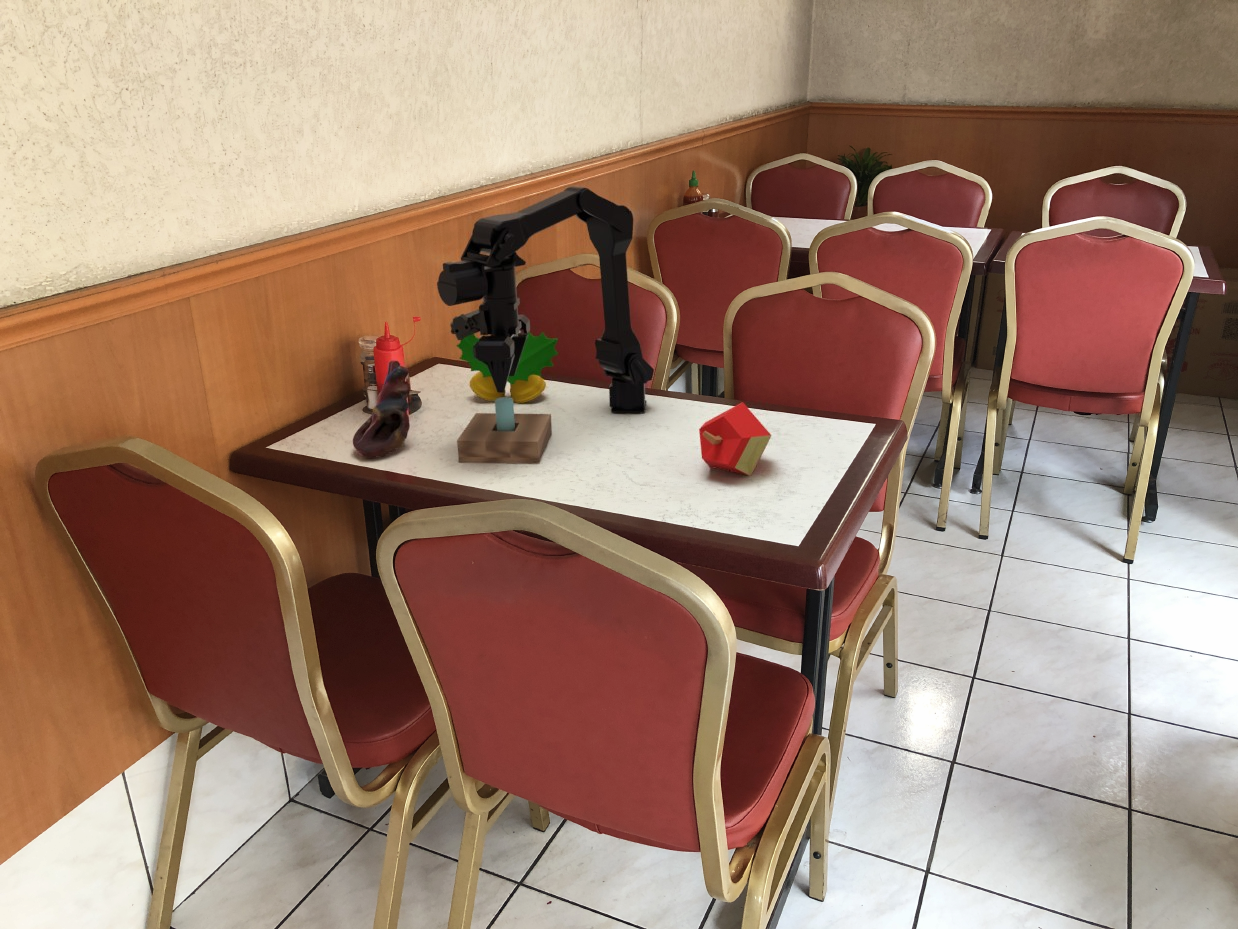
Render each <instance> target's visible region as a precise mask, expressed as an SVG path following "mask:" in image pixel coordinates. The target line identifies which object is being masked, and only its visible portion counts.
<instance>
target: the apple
mask: <svg viewBox="0 0 1238 929" xmlns="http://www.w3.org/2000/svg"><path fill="white" fill-rule="evenodd" d="M698 430H699V442H700V443H699V444H700V451H701V452H700V453H701V459H702V460H703V461H704V462H705V463H706V464H707V465H708V467H709V468H714V469H719V470H723V471H727V472H732V473H736V474H741V475H745V476H749V477H751V475H752V474H753V472H754V471H755V468H756V467H757V466H758V464H759V462H760V460H761V457H762V456H763V454H764V452H765V449H766V447H767V445H768V443H769V442H770V439H771V438H772V434H771V433H770V431H769V430H768V429H767V428H766V427H765V426H764V425H763V423H761V421H760V420H759V419H758V418H757V417H756V415H755V414H754V413H753V412H752V411H751V410H750V409H749V408H748V407H747V405H746V404H745V403H744V402H742V401H741V402H740V403H738V404H736V405H734V406H733V407H731V408H729V409H727V410H725V411H723V412H721V413H720V414H718V415H716V416H714V417H712V418H711V419H709V420H707V421H705V422H704V423H703V424H702V425H701V426H700V428H699V429H698Z"/></svg>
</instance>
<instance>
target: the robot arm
mask: <svg viewBox="0 0 1238 929" xmlns="http://www.w3.org/2000/svg"><path fill="white" fill-rule="evenodd" d="M572 217H576V218H577V219H579V220H580V221H581V222H582V223H584V224H586V228H587V232H588V236H589V240H590V241H591V243H592V245H593V247H594V249H595V250H596V252H597V254H598V259H599V271H600V272H599V273H600V282H601V283H600V284H601V294H602V308H603V309H602V310H603V319H604V331H603V333H602V335H601V337H600V338H596V339H595V340H594V345H595V350H596V352H595V354H596V356H595V360H597V361H598V363H599V364H598V365H600V367H602V369H603V372H604V375H605V377H610V378H611V383H610V384H609V387H608V390H609V391H608V393H609V394H608V397H609V399H608V400H609V407H610V408H611V410H610V411H611V413H614V414H617V413H618V414H623V413H624V414H644V413H645V412H646V408H647V400H646V384H647V383H648V382H649V381H652V379H653V376H654V372H655V369H654V368H653V367H652V366H651V365H650V364H649V363H648V362H647V361H646V360H645V359H644V358H643V357H644V356H643V352H642V347H641V342H640V340H639V339H638V337H637V335H636V334H635V332H634V330H633V328H632V323H631V322H632V320H631V309H630V294H629V280H628V279H629V278H628V265H627V251H628V249H629V246H630V244H631V243H632V240H633V236H634V215H633V211H632V210H630V209H629V208H628V207H627V206H626V205H621V204H616V203H614V202H613V201H610V200H608V199H606V198H604V197H603V196H600V195H598V194H596V193H595V192H594V191H592V190H591V189H589V188H587V187H582V186H573V185H571V186H569V187H566V188H565V189H564V190H563V191H561V192H558V193H556V194H553V195H551V196H549V197H547V198H545V199H543V200H540V201H538V202H536V203H534V204H531V205H530V206H527V207H525V208H522V209H521V210H518V211H516V212H511V213H502V214H495V215H489V216H485V217H481V218H480V219H478V220H476V222H475V223H474V224H473V229H472V234H471V236H470V238H469V240H468V242H467V244H466V247H465V248H464V251H463V252H462V255H461V256H460V261H454V262H453V261H447V262H443V263H442V271H441V272H440V273H439V275H438V278H437V279H438V280H437V283H436V287H437V292H438V295H439V297H440V299H441V301H442V303H443V304H445V306H448V307H452V306H456V305H461V304H462V305H463V304H467V303H471V302H476V301H481V300H482V302H481V303H480V305H479V306H478V309H476V310H472V311H470V312H467V313H465V314H464V313H461V314H459V316H454V317H452V321H451V322H450V333H451V334H452V335H455V338H456V339H457V341H461V340H462V339H464V338H465V337H467V336H469V335H472V334H474V335H475V334H478V333H479V334H480V336H481V337H479V338H480V339H479V340H478V341H477V342H476V344H475V345H474V346H473V356H474V358H476V359H477V360H478V361H481V362H483V363H484V364H486V365H487V366H488V369H489V371H490V373H491V376H492V379H493V381H494V384H495V387H496V390H497V392H498V393H503V392H504V390H505V391H506V386H507V383H508V382H507V380H508V377H509V376H514V375H515V373H516V370H517V367H518V364H519V361H520V358H521V355H522V352H523V349H524V346H525V343H526V340H527V337H528V335H529V334H528V332H530V331H531V323H530V322H531V320H530V319H529V318H528V317H527V315H526V314H519V311H518V309H519V306H520V304H521V303H520V302H521V300H520V298H521V297H518V296H517V295H518V294H517V281H516V268H517V267H522V266H525V265H526V264H527V261H526V260H524V259H523V258H522V257H521V256H519V254H518V253H517V252H518V251H519V250H520V249H522V248H523V247H524V246H525V245H526V243H527V242H528V240H529V239H530V238H531V237H533V236H534V235H536V234H538V233H541V232H542V231H545V230H546V229H549V228H551V227H553V226H555V225H557V224H559V223H561V222H563V221H565V220H567V219H570V218H572ZM483 253H484V254H483ZM487 254H488V255H487ZM521 330H522V331H523V332H521ZM484 335H485V336H484Z"/></svg>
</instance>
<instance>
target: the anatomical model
mask: <svg viewBox="0 0 1238 929" xmlns="http://www.w3.org/2000/svg"><path fill="white" fill-rule="evenodd" d="M409 374H410V369H408V368H406V367H404V366H403V365H401V363H400V361H398V360H390V361H389V362H388V367H387V374H386V376H385V379H384V382H383V386H382V389H381V391H380V392H379V394H378V395H377V402H376V404H375V406H373V407H372V414H371V415H370V417H368V419H367V420H366V421H365V422H364V423H363V424H361V426H359V428H358V429H357V430H356V431H355V433H354V435H353V436H352V437H353V438H352V446H353V447H354V449H355V450H356V451H357V452H358V453H359V454H360V456H362V457H363V458H366V459H374V458H381V457H384V456H387V455H389V454H391V453H393V452H394V451H397V450H398V449H399V448H400V447H402V445H403V444H404V443H405V441H406V439H407V437H408V434H409V430H410V426H411V425H410V417H409V415H408V412H407V411H408V410H409V408H410V407H409V402H408V397H409V395H410V394H411V393H410V392H411V391H410V388H411V386H410V383H409V382H407V381H406V379H407V377H408V375H409Z"/></svg>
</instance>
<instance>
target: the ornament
mask: <svg viewBox="0 0 1238 929" xmlns="http://www.w3.org/2000/svg"><path fill="white" fill-rule="evenodd" d="M528 334H529V335H528V337H527V340H526V343H525V346H524V349H523V352H522V355H521V358H520V361H519V364H518V367H517V370H516V373H515V375H514V376H509V377H508V380H507V383H509V386H510V388H509V393H510V398H512V399H513V403H515V402H516V403H515V404H522V403H523V404H524V403H527V402H530V401H532V400H534V399H536V398H538V397H539V396H540V395H542V393H543V392H544V391H545V389H546V387H547V382H546V381H545V379H544V378H542V370H543V369H544V368H546V367H549V368H551V367H554V364H553V361H552V358H553V357H555V356H558V355H559V353H558V352H557V351H556V348H555V346H556V344H557V342H558V340H559V339H558V338H548V337H547V335H545V333H544V332H541V333H540V334H538V336H534V335H533V334H532V333H531V332H530V331H529V332H528ZM483 336H486V335H483ZM480 338H481V337H476V335H475V334H472V335H469V336H467V337H465V338H464V339H462V340H459V343H458V344H456V346H455V347H457V348H458V349H459V350H460V351H461V353H462V354H461V355H460V357H459V360H461V361H465V362H467V363H468V364H469V365H470V368H471V369H470V372H477V373H475V375H473V376H472V377H471V378H470V381H469V388H470V389H471V390H472V393H474V394H475V395H476V396H477V397H479V398H481V399H483V400H485V401H489V402H495V399H497V398H501V397H506V389H505V390H504V392H503V393H498V392H497V390H496V387H495V384H494V381H493V379H492V376H491V373H490V371H489V369H488V366H487V365H486V364H484V363H483V362H481V361H478V360H477V359H476V358H474V356H473V346H474V345H475V344H476V342H477V341H478V340H479V339H480Z"/></svg>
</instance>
